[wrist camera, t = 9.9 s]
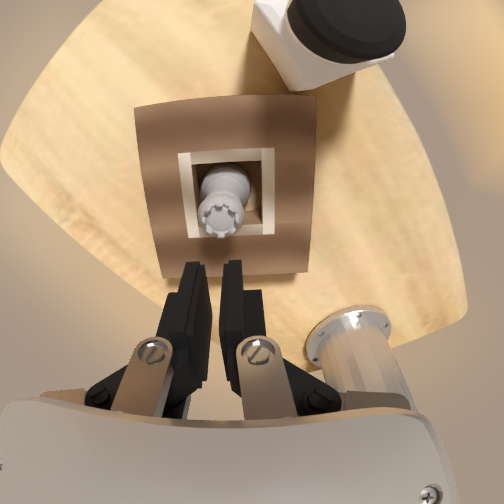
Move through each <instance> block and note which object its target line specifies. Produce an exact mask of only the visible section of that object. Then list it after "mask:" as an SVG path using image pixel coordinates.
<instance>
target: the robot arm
mask: <svg viewBox="0 0 504 504" xmlns="http://www.w3.org/2000/svg"><path fill="white" fill-rule="evenodd" d="M211 328H212V308H211V302H210V296H209V290H208V283H207V277H206V270H205V265H204V264H203V265H200V262H199V261H193V262H186V264H185V267H184V271H183V274H182V278H181V281H180V285H179V289H178V292H170V293H169V294H168V296H167V299H166V302H165V306H164V309H163V312H162V316H161V319H160V323H159V326H158V330H157V333H156V337H150V338H147V339H145V340H143V341H141V342H140V343H139V344H138V345H137V346H136V348H135V349H134V352H133V354H132V356H131V359H130V361H129V364H128V365H126V366H125V367H123V368H121V369H120V370H118V371H116V372H115V373H113V374H111V375H110V376H108V377H107V378H105V379H103V380H102V381H100V382H98V383H97V384H95V385H94V386H92V387H91V388H90V389H89V390H88V391H86V390H85V389H73V390H60V391H48V392H44V393H43V394H42V395H40V397H27V398H21V399H17V400H14V401H12V402H11V403H9V404H8V405H7V406H6V408H5V409H4V410H3V412H2V414H1V415H0V504H461V502H460V498H459V493H458V489H457V485H456V481H455V477H454V474H453V470H452V467H451V464H450V461H449V458H448V455H447V453H446V450H445V447H444V445H443V443H442V440H441V438H440V436H439V434H438V432H437V431H436V429H435V427H434V426H433V424H432V423H431V422H430V420H429V419H428V418H426V417H425V416H424V415H422V414H420V413H418V410H417V407H416V405H415V402H414V400H413V397H412V395H411V393H410V390H409V388H408V386H407V383H406V381H405V379H404V376H403V374H402V372H401V370H400V367H399V365H398V363H397V361H396V358H395V356H394V354H393V352H392V350H391V348H390V346H389V343H388V341H387V340H388V338H389V336H390V333H391V323H390V320H389V318H388V316H387V315H386V314H385V312H384V311H382V310H381V309H379V308H376V307H373V306H356V307H351V308H347V309H344V310H341V311H339V312H337V313H335V314H333V315H331V316H329V317H328V318H326V319H325V320H323V321H322V322H321V323H320V324H318V325H317V326H316V327H315V328H314V330H313V331H312V332H311V333H310V335H309V337H308V339H307V342H306V352H307V356H308V358H309V360H310V361H311V362H312V363H313V364H314V365H316V366H317V367H320V368H322V370H323V374H324V378H325V382H326V383H324V382H322V381H320V380H319V379H317V378H315V377H313V376H312V375H310V374H308V373H307V372H305V371H303V370H302V369H300V368H298V367H297V366H295V365H294V364H292V363H290V362H289V361H287V360H285V359H284V358H282V355H281V351H280V348H279V346H278V344H277V343H276V342H275V341H274V340H273V339H271V338H269V337H266V329H265V319H264V309H263V300H262V291H261V289H260V290H243V273H242V259H239V260H229V261H228V263H227V264H224V265H223V277H222V290H221V302H220V316H219V337H220V343H221V349H222V355H223V360H224V366H225V371H226V377H227V381H230V383H231V389H232V391H233V392H235V393H236V394H237V395H239V396H240V397H241V398H242V405H243V412H244V419H245V420H243V421H242V420H240V421H210V420H208V421H207V420H187V415H188V410H189V405H190V401H191V394H192V393H193V392H194V391H196V390H197V388H202V381H206V380H207V374H208V361H209V350H210V338H211Z"/></svg>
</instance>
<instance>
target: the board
mask: <svg viewBox="0 0 504 504" xmlns="http://www.w3.org/2000/svg"><path fill="white" fill-rule="evenodd" d="M134 116H135V126H136V135H137V143H138V151H139V159H140V166H141V172H142V179H143V185H144V191H145V197H146V202H147V208H148V213H149V218H150V223H151V228H152V233H153V238H154V243H155V247H156V252H157V256H158V260H159V264H160V269H161V273H162V277H163V278H182V274H183V271H184V267H185V264H186V262H193V261H199V262H200V265H203V264H204V265H205V270H206V277H222V276H223V265H224V264H227V263H228V261H229V260H239V259H242V273H243V276H246V275H267V274H286V273H304V272H308V262H309V251H310V239H311V225H312V211H313V194H314V174H315V146H316V96H308V95H275V94H266V95H233V96H217V97H206V98H196V99H187V100H179V101H172V102H165V103H159V104H153V105H147V106H142V107H137V108H134ZM235 161H259V164H260V211H245V221H244V223H243V225H242V228H241V229H239V230H238V231H237V232H236V233H235V234H233V235H232V236H231V235H230V236H228V237H225V239H217V238H218V237H216V236H213V235H211V236H209V235H208V234H207V233H206V232H205V230H204V229H202V227H201V225H200V223H199V222H198V214H197V212H198V209H199V206H200V204H201V195H200V185H199V175H198V164H204V163H218V162H235Z"/></svg>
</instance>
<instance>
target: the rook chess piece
mask: <svg viewBox="0 0 504 504" xmlns="http://www.w3.org/2000/svg"><path fill="white" fill-rule="evenodd" d="M250 192H251V181H250V179H249V177H248V174H247V173H246V172H245V171H244V170H243V169H242V168H241V167H240V166H237V165H234V164H232V163H220V164H218V165H216V166H213V167H211V168H210V169H209V170H208V171H207V172H206V174H205V175H204V178H203V181H202V185H201V193H202V197H203V199H204V200H203V202H202V203H201V204H200V206H199V209H198V212H197V214H198V222H199V223H200V225H201V227H202V229H204V230H205V232H206V233H207V234H208V235H209V236H211V235H213V236H216V237H218V238H217V239H225V237H228V236H230V235H231V236H232V235H233V234H235V233H236V232H237V231H238V230H239V229H241V228H242V225H243V223H244V221H245V210H244V208H243V205H244V204H246V203H247V200H248V198H249V196H250Z"/></svg>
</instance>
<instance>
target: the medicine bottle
mask: <svg viewBox="0 0 504 504" xmlns="http://www.w3.org/2000/svg"><path fill="white" fill-rule="evenodd" d="M250 29H251V31H252V33H253V34H254V36H255V37H256V38H257V40H258V41H259V43H260V44H261V46H262V47H263V49H264V50H265V52H266V54H267V55H268V57H269V58H270V60H271V61H272V63H273V65H274V66H275V68H276V69H277V71H278V73H279V74H280V76H281V78H282V79H283V81H284V83H285V84H286V86H287V88H288V89H289V91H290V92H298V91H304V90H311V89H315V88H317V87H320V86H322V85H324V84H327V83H329V82H331V81H334V80H336V79H339V78H341V77H344V76H346V75H349V74H351V73H354V72H357V71H359V70H362V69H365V68H368V67H371V66H373V65H376V64H379V63H382V62H385V61H388V60H391V59H393V58H394V53H393V52H394V51H395V50H397V49H398V47H399V46H400V45H401V43H402V42H403V40H404V36H405V32H406V20H405V15H404V12H403V9H402V6H401V4H400V2H399V0H257V1H256V2H255V3H254V6H253V13H252V20H251V27H250Z"/></svg>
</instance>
